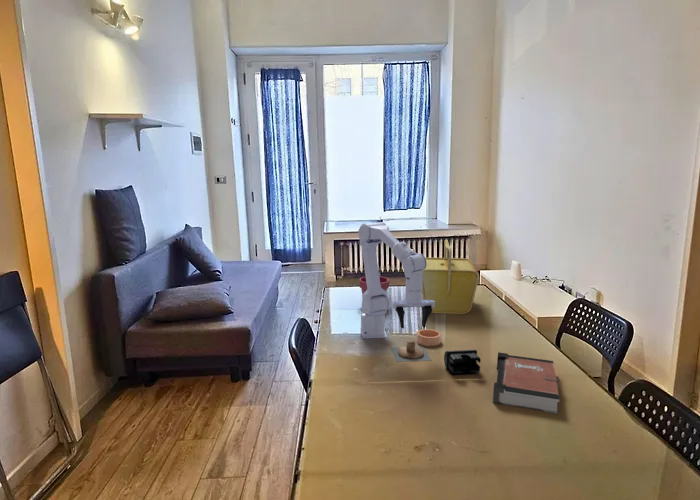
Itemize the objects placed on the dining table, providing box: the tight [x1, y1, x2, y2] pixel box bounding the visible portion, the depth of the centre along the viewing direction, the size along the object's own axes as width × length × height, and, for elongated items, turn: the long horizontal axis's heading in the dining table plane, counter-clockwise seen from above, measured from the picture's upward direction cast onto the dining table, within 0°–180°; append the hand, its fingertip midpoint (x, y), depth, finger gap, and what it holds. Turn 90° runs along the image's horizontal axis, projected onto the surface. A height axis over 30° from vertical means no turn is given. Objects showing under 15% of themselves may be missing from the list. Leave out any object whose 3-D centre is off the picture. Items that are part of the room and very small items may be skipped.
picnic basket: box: [422, 239, 480, 315], centre depth 215 cm, size 29×26×30 cm
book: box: [492, 351, 560, 415], centre depth 137 cm, size 26×18×5 cm
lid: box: [398, 339, 424, 359], centre depth 160 cm, size 9×9×4 cm
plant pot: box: [358, 275, 390, 297], centre depth 217 cm, size 14×14×13 cm
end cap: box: [443, 349, 481, 377], centre depth 147 cm, size 10×7×7 cm
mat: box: [390, 346, 432, 362], centre depth 160 cm, size 12×12×1 cm
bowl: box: [415, 328, 442, 347], centre depth 172 cm, size 9×9×4 cm
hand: (412, 326), depth 160 cm, fingers open, 7 cm apart
